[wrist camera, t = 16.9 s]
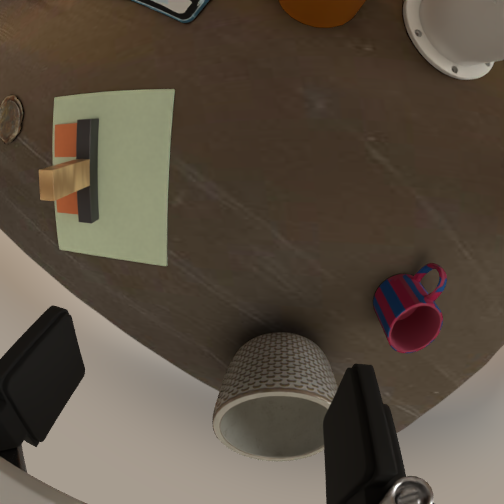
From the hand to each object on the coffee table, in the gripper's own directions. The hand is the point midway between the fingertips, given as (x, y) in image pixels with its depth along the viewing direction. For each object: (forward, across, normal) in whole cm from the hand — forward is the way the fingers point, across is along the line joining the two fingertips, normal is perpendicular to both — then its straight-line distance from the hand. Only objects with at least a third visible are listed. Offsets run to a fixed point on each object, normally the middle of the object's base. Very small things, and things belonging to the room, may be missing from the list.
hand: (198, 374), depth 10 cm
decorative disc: (+25, +35, -7) cm, 44 cm away
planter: (+25, -6, +21) cm, 33 cm away
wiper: (+25, +20, -1) cm, 31 cm away
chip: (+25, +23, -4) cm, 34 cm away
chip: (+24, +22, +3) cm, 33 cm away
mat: (+25, +18, 0) cm, 31 cm away
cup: (+26, -20, +8) cm, 33 cm away
